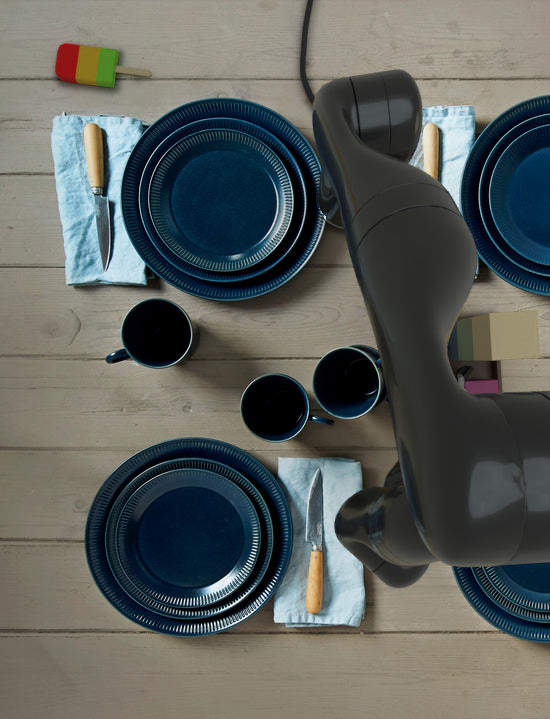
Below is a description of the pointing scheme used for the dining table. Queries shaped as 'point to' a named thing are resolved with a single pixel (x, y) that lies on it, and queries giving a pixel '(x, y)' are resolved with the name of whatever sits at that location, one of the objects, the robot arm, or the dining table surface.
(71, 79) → the popsicle
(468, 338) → the block tower
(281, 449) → the dining table surface
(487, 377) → the tray
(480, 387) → the mulberry block
